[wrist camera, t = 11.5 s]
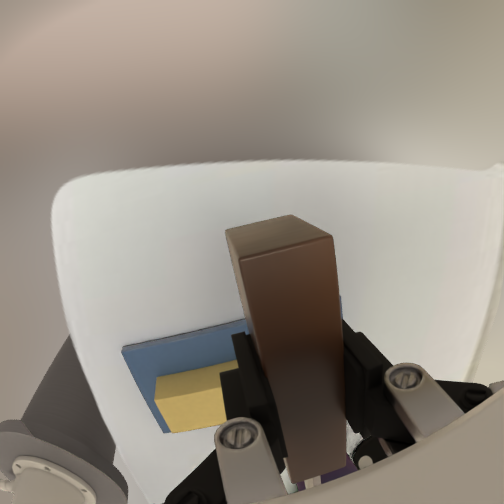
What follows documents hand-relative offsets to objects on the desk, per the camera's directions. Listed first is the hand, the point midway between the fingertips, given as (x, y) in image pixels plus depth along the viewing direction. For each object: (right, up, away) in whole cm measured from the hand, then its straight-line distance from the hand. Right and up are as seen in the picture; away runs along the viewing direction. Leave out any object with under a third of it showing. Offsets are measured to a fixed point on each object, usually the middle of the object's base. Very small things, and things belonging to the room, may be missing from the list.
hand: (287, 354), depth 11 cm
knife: (+1, -4, +2) cm, 5 cm away
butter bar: (-5, -7, +13) cm, 16 cm away
